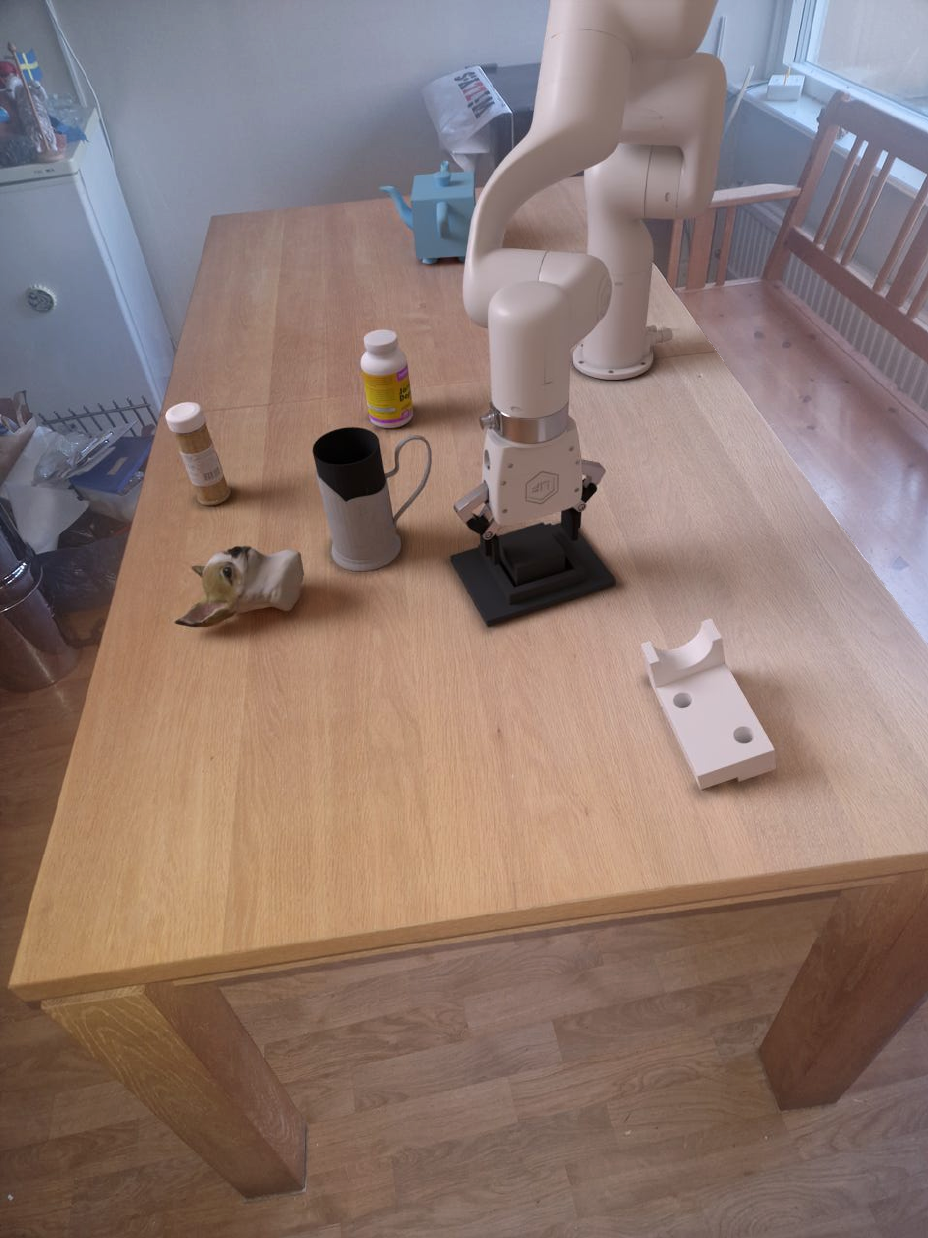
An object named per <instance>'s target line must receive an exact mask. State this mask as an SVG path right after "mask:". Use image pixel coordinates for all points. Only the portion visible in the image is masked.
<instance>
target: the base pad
mask: <svg viewBox="0 0 928 1238" xmlns="http://www.w3.org/2000/svg"><path fill="white" fill-rule="evenodd" d="M545 525H546V527H547V528H548V529H549V531H550V532H551V534H552V535H553V536H554V538H555V539H556V540H557V542H558V543H559V545H560V546H561V547H562V549H563V550H564V551H565V572H562V573H559V574H556V575H553V576H550V577H547V578H543V579H540V580H537V581H534V582H531V583H527V584H524V585H521V586H518V587H515V586H514V584H513V583H512V581H511V579H510V578H509V576H508V575H507V573H506V571H505V570H504V568H503V567H502V565H501V563H499V564H497V565H493V563H492V562H491V560H490V558H489V557H488V556H486V557H485V556H484V555H483V553H482V551H481V547H480V543H479V544H478V545H477V547H474V548H471V549H467V550H464V551H461V552H457V553H454V554H451V555H450V556H449V557H450V563H451V565H452V567H453V568H454V570H455V572H456V575H458V577H459V579H460V581H461V583H462V584H463V587H464V588H465V590H466V592H467V594H468V595H469V597H470V599H471V600H472V602H473V604H474V606H475V607H476V609H477V612H479V615H480V617H481V618H482V620H483V623H484V624H485V625H486V627H487V628H488V627H492V626H494V625H498V624H501V623H504V622H507V621H510V620H513V619H516V618H520V617H523V616H525V615H529V614H532V613H534V612H538V611H542V610H544V609H548V608H551V607H554V606H557V605H560V604H564V603H567V602H569V601H573V600H575V599H578V598H582V597H584V596H587V595H588V596H589V595H591V594H594V593H597V592H601V591H603V590H607V589H609V588H613V587H616V586H617V585H616V584H617V579H616V577H615V576H614V575H613V574H612V573H611V571H610V570H609V569H608V567H607V566H606V564H605V563H604V562H603V561H602V559H601V558H600V556H599V555H598V554H597V552H596V551H595V550H594V549H593V548H592V546H591V544H589V542H588V541H587V540H586V538H585V537H584V536H583V535H582V533H581V532H580V530H578V540H576V541H571V540H570V538H569V537H568V536H567V534H566V533H565V532H564V530H563V529H562V527H561V522H558V523H555V524H552V523H551V522H550V523H545Z"/></svg>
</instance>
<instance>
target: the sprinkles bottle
mask: <svg viewBox="0 0 928 1238" xmlns="http://www.w3.org/2000/svg"><path fill="white" fill-rule="evenodd" d="M164 416H165V420H166V423H167V426H168V428H169V430H170V432H171V433H172V435H173V437H174V440H175V442H176V445H177V447H178V451H179V455H180V457H181V459H182V462H183V464H184V467H185V469H186V472H187V474H188V477H189V480H190V482H191V484H192V486H193V489H194V491H195V494H196V499H197V501H198V502H199V503H200V504H201V505H203V506H217V505H219V504H222V503H223V502H225V501H226V500H227V499H228V498H229V497H230V495H231V489H230V487H229V485H228V484H227V480H226V478H225V475H224V471H223V467H222V464H221V460H220V458H219V455H218V452H217V451H216V448H215V445H214V442H213V439H212V437H211V434H210V431H209V429H208V426H207V420H206V419H207V418H206V416H205V413H204V410H203V407H202V406H201V405H200V404H199V403H197V402H191V401H186V402H181V403H178V404H175V405H173V406H171V407H170V408H168V410H167V411H166V413H165V415H164Z"/></svg>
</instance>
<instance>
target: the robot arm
mask: <svg viewBox="0 0 928 1238" xmlns="http://www.w3.org/2000/svg"><path fill="white" fill-rule="evenodd" d="M549 1H550V2H549V7H548V8H549V9H548V16H547V22H546V29H545V35H544V40H543V41H544V42H543V48H542V54H541V60H540V61H541V62H540V68H539V73H538V74H539V75H538V81H537V88H536V94H535V99H534V106H533V107H534V108H533V115H532V122H531V125H530V128H529V130H528V132H527V134H526V135H525V136H524V137H523V138H522V139H521V140H520V141H519V143H517V144H516V145H515V146H514V147H513V148H512V150H510V151H509V152H508V154H506V155H505V157H504V158H503V160H501V162H500V163H499V165H498V166H497V167H496V168H495V170H494V171H493V173H492V174H491V176H490V177H489V179H488V180H487V183H486V184H485V186H484V187H483V189H482V191H481V193H480V195H479V197H478V199H477V200H476V206H475V209H474V212H473V216H472V220H471V225H470V232H469V238H468V245H467V252H466V259H465V262H464V268H463V275H462V290H461V291H462V303H463V306H464V310H465V313H466V315H467V317H468V318H469V320H470V321H471V322H473V324H475V325H476V326H479V327H481V328H484V329H488V347H489V349H488V350H489V371H490V392H491V401H489V411H488V412H487V413H486V414H485V415H481V416H479V417H478V420H479V426H480V428H481V430H482V431H485V430H487V431H486V435H485V439H484V444H483V445H484V446H483V453H482V465H481V484H479V485H478V486H476V487H475V488H474V489H472V490H471V491H469V493H467V494H465V496H464V497H462V498H461V499H460V500H458V501H457V502H455V503H454V505H453V510H454V512H455V513H456V515H457V517H458V518H459V519H460V520H461V521H462V522H463V524H465V526H466V527H467V529H469V530H470V531H472V532H474V533H476V534H478V535H479V544H480V547H481V551H482V553H483V555H484V556H485V557H486V556H488V557H489V558H490V560H491V562H492V563H493V565H497V564H499V563H500V551H499V538H498V534H497V532H498V530H499V529H500V528H501V526H502V527H511V526H515V525H516V526H517V525H519V524H523V523H527V522H529V521H532V520H536V519H540V518H543V517H546V516H550V515H553V514H557V513H560V523H561V527H562V529H563V530H564V532H565V533H566V534H567V536H568V537H569V538H570V540H571V541H576V540H578V531H579V530H580V529H581V528H582V512H584V511H585V510H586V509H587V503H588V501H590V499H591V498H592V497H593V496H594V495H595V494H596V492H597V491H598V486H599V484H600V483H601V481H602V479H603V477H604V475H605V474H606V472H607V471H606V468H605V467H604V466H603V465H602V464H601V462H598V461H592V460H587V459H582V454H581V453H582V452H581V444H580V438H579V437H580V436H579V431H578V426H577V423H576V420H575V419H574V418H573V417H572V416H570V415H569V411H570V410H569V409H570V408H569V407H570V402H569V401H570V384H571V383H570V382H571V381H570V380H571V379H570V378H571V350H572V349H573V348H574V347H575V348H574V350H573V352H572V363H573V367H575V369H576V370H577V371H579V372H581V374H583V375H586V376H588V377H590V378H594V379H598V380H606V381H619V380H620V381H621V380H628V379H632V378H635V377H638V376H639V375H642V374H644V373H645V372H647V371H648V370H649V369H650V368H651V366H652V364H653V362H654V352H653V350H652V348H653V347H655V346H656V344H659V343H660V344H661V343H666V342H669V341H672V339H673V335H674V334H673V330H672V329H671V327H666V328H663V329H659V330H658V328H657V325H656V324H653V325H648V326H647V323H648V313H649V303H650V296H651V295H650V294H651V285H652V274H653V265H654V256H655V248H654V242H653V238H652V236H651V233H650V231H649V229H648V228H647V226H646V224H645V222H644V221H643V220H644V219H645V220H646V219H654V220H656V219H657V220H676V221H677V220H678V221H682V220H683V221H686V220H688V221H689V220H695V219H698V218H700V217H701V216H703V215H704V214H705V213H707V211H708V209H709V208H710V206H711V204H712V202H713V199H714V195H715V192H716V188H717V187H716V186H717V181H718V174H719V165H720V158H721V157H720V156H721V149H722V140H723V133H724V132H723V131H724V122H725V114H726V107H727V106H726V105H727V92H728V80H727V73H726V72H727V71H726V68H725V66H724V64H723V61H722V60H721V59H720V58H719V57H718V56H716V55H715V54H712V53H708V52H702V51H701V52H699V51H698V50H699V49H700V47H701V46H702V44H703V42H704V40H705V38H706V35H707V33H708V30H709V28H710V25H711V22H712V19H713V16H714V14H715V11H716V8H717V5H718V3H719V0H549ZM581 172H583V189H584V197H585V198H584V199H585V207H586V219H587V248H586V249H587V250H586V253H581V252H568V251H553V250H545V249H533V248H532V249H531V248H530V249H529V248H517V247H516V248H513V247H503V242H504V238H505V234H506V232H507V229H508V226H509V224H510V222H511V220H512V219H513V218H514V216H515V214H516V213H517V212H518V211H519V210H520V208H521V207H522V206H523V205H524V204H525V203H526V202H527V201H529V200H530V199H531V198H533V197H534V196H535V195H537V194H539V193H541V192H542V191H544V190H545V189H547V188H549V187H551V186H553V185H555V184H557V183H559V182H561V181H563V180H565V179H568V178H570V177H572V176H574V175H576V174H579V173H581ZM581 341H582V342H581ZM580 342H581V343H580ZM579 343H580V344H579ZM577 344H578V345H577ZM576 345H577V346H576ZM583 476H585V477H584V478H583ZM482 504H484V507H483V508H482V509H481V511H480V512H479V514H475V513H473V512H474V510H476V509H478V507H480V506H481V505H482Z"/></svg>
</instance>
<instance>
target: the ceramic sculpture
mask: <svg viewBox="0 0 928 1238" xmlns="http://www.w3.org/2000/svg"><path fill="white" fill-rule="evenodd" d="M191 570H192V571H193V572H194V573H195V574H197V575H198V576H199V577H200V578H201V583H202V588H203V590H204V593H205V598H203V599H202V600H201V601H199V602H197V603H195V604H194V605H193V606H191V608H190V609H189V610H188V611H187V613H186V614H184V615H183V616H182V617H180V618H178V619H176V620H175V621H173V623H174V624H175V625H179V626H184V627H189V628H212V627H214V626H217V625H218V624H221V623H222V622H224V621H226V620H229V619H230V618H232V617H234V616H235V615H237V614H241V613H242V614H243V613H246V612H250V611H254V610H261V609H266V608H271V607H272V608H276V609H278V610H281V611H284V612H289V611H291V610H292V609H293V607H294V606H295V604H296V603H297V602H298V600H299V598H300V596H301V588H302V584H303V582H304V576H305V571H304V570H305V569H304V563H303V561H302V554H301V552H300V551H295V550H292V549H290V548H287V549H283V550H279V551H277V552H275V553H270V554H269V553H268V554H266V553H265V554H264V553H262V552H259V551H258V550H257V549H256V548H253V547H252V546H250V545H241V546H239V545H236V546H233V547H232V548H228V549H226V550H221V551H220V550H219V551H217V552H216V553H215V554H213V555H212V556H211V558H210V559H209V560H208V561H207V562H206V563H205V565H192V566H191Z"/></svg>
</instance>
